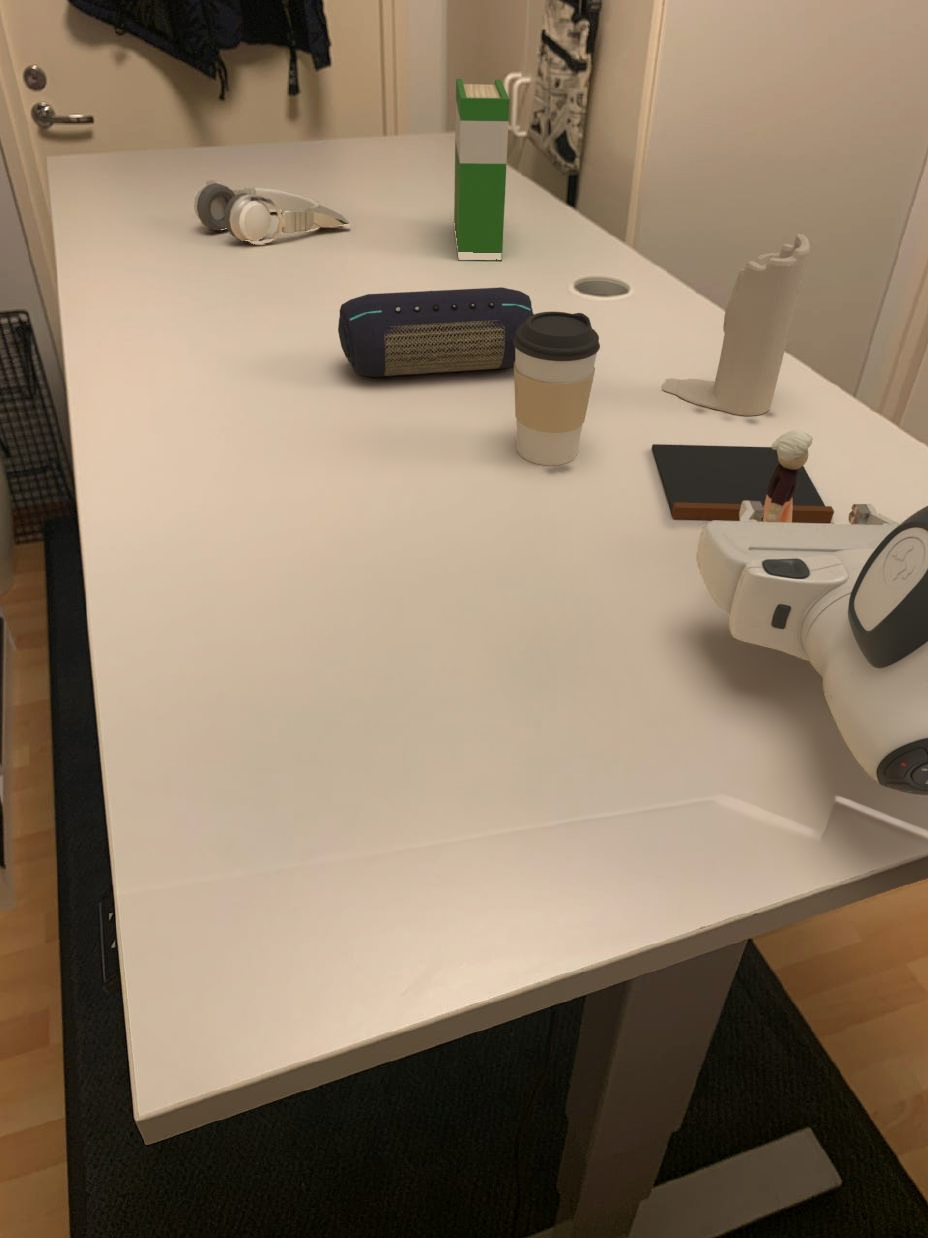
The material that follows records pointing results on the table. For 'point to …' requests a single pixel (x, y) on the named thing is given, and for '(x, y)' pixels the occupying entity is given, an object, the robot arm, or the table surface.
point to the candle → (752, 334)
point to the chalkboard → (728, 482)
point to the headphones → (259, 211)
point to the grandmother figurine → (785, 475)
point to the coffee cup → (553, 384)
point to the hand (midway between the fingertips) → (803, 509)
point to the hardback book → (480, 166)
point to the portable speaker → (432, 330)
